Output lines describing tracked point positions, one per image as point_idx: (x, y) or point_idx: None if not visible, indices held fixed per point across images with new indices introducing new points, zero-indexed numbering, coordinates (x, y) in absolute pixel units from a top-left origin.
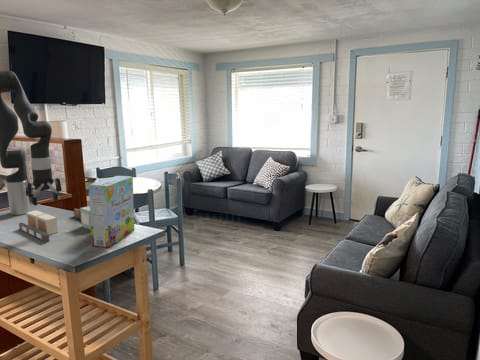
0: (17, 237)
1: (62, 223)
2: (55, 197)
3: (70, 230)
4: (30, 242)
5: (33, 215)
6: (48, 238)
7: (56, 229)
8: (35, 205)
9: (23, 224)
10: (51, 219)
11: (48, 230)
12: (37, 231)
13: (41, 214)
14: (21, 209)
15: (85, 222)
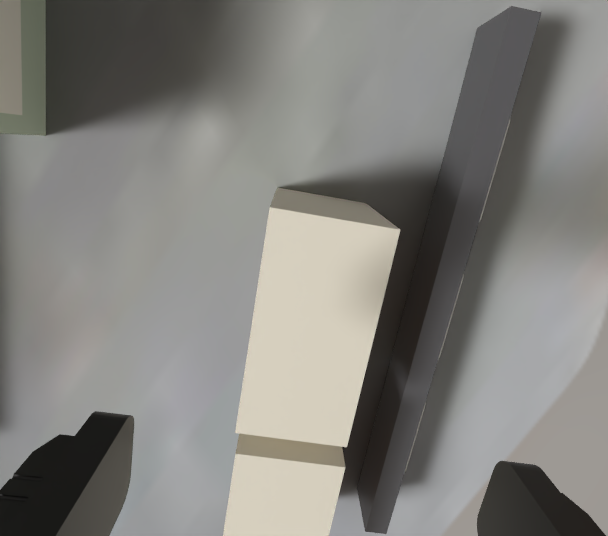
0: (499, 356)
1: (112, 358)
2: (74, 478)
3: (182, 129)
4: (547, 166)
5: (336, 500)
6: (496, 20)
7: (285, 193)
8: (528, 467)
9: (390, 482)
10: (333, 216)
11: (360, 207)
12: (476, 213)
13: (278, 461)
14: None
15: (8, 29)
